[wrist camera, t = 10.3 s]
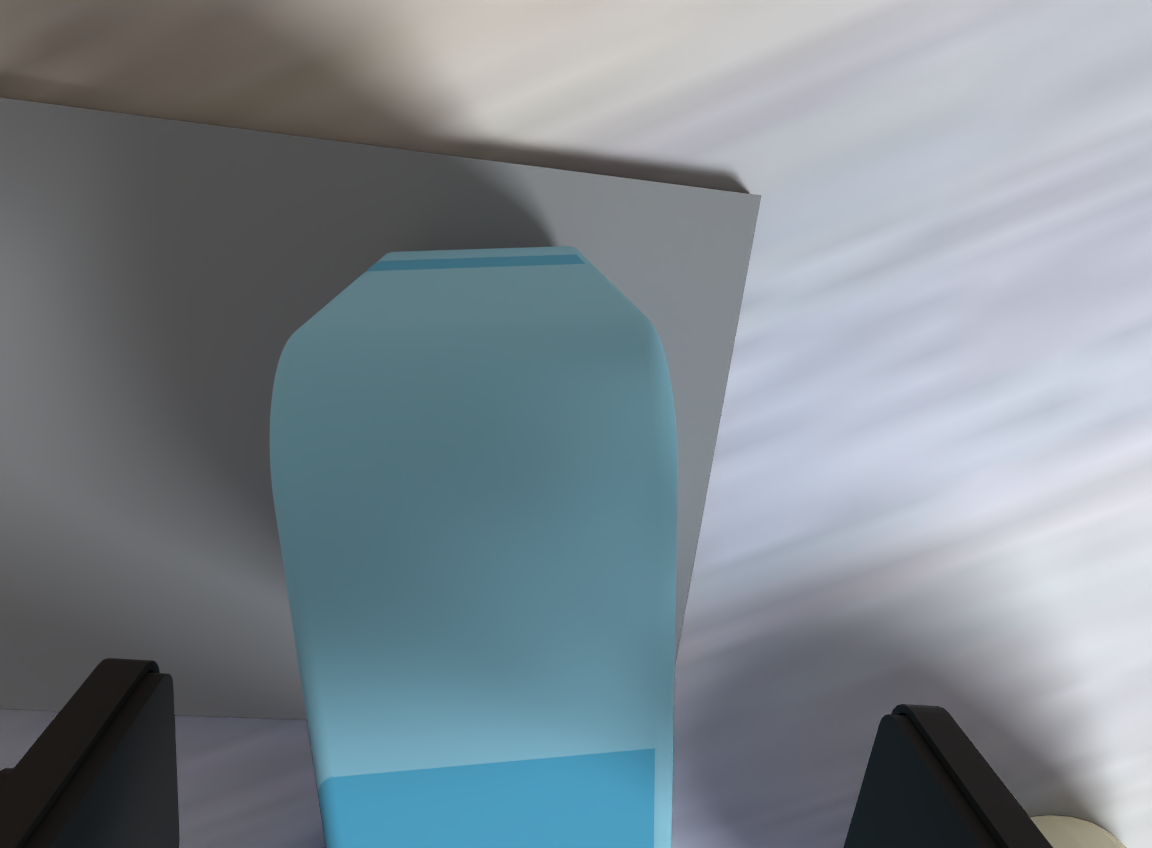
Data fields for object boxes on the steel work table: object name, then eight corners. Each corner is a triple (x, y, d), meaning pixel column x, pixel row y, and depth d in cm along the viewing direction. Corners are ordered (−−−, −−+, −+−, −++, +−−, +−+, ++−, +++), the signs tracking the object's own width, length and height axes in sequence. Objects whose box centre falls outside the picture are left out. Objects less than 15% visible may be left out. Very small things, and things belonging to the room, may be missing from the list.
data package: (388, 245, 19) (244, 358, 8) (573, 239, 20) (685, 339, 8) (428, 669, 23) (367, 1156, 12) (583, 657, 24) (670, 1117, 12)
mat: (751, 194, 21) (760, 195, 20) (657, 715, 25) (662, 732, 25) (-199, 72, 18) (-230, 67, 17) (-107, 686, 22) (-128, 704, 22)
